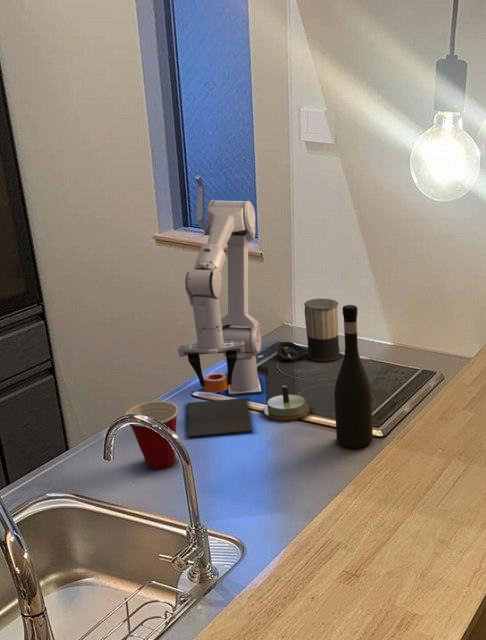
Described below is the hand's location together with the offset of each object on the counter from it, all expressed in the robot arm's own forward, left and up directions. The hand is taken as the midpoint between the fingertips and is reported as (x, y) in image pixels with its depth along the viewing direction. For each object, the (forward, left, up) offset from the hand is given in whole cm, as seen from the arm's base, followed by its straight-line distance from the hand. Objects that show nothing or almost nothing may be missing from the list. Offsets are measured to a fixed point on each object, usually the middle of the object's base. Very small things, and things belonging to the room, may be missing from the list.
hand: (216, 384), depth 197 cm
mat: (0, 0, -8) cm, 8 cm away
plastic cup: (+22, -13, -9) cm, 27 cm away
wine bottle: (+20, +29, -9) cm, 36 cm away
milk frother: (-38, +26, -9) cm, 47 cm away
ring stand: (0, +16, -8) cm, 18 cm away
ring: (0, 0, -1) cm, 1 cm away
